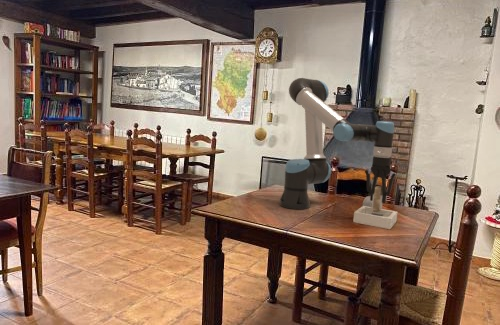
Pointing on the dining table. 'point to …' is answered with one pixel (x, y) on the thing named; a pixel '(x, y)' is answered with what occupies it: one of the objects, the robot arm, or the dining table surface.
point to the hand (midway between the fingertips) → (376, 208)
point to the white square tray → (375, 217)
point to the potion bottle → (368, 197)
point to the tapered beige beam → (377, 198)
